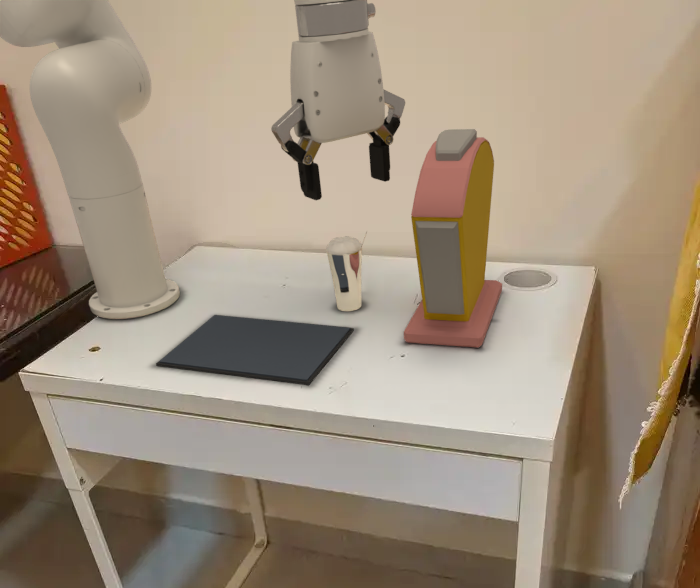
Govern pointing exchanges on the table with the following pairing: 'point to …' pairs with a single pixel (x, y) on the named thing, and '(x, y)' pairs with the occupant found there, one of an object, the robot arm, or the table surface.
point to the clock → (453, 242)
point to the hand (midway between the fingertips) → (347, 188)
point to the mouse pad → (258, 348)
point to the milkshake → (346, 271)
